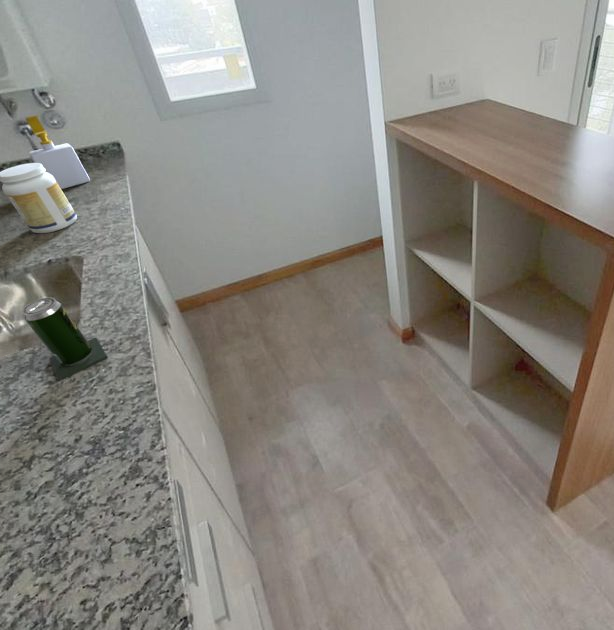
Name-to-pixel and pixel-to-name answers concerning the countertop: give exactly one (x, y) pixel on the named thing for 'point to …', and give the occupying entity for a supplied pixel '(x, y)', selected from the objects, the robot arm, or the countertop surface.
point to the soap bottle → (57, 158)
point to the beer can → (57, 331)
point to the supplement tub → (37, 198)
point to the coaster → (67, 371)
